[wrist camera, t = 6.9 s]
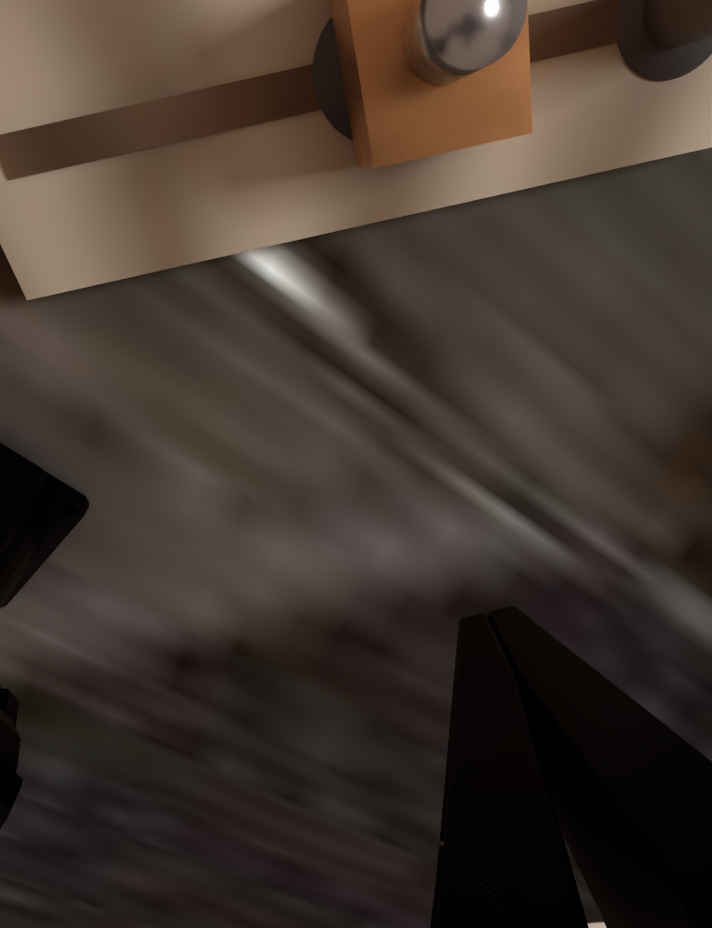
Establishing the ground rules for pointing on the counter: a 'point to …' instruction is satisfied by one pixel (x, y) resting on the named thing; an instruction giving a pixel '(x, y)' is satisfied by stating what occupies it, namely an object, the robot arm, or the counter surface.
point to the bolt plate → (290, 126)
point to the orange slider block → (432, 75)
